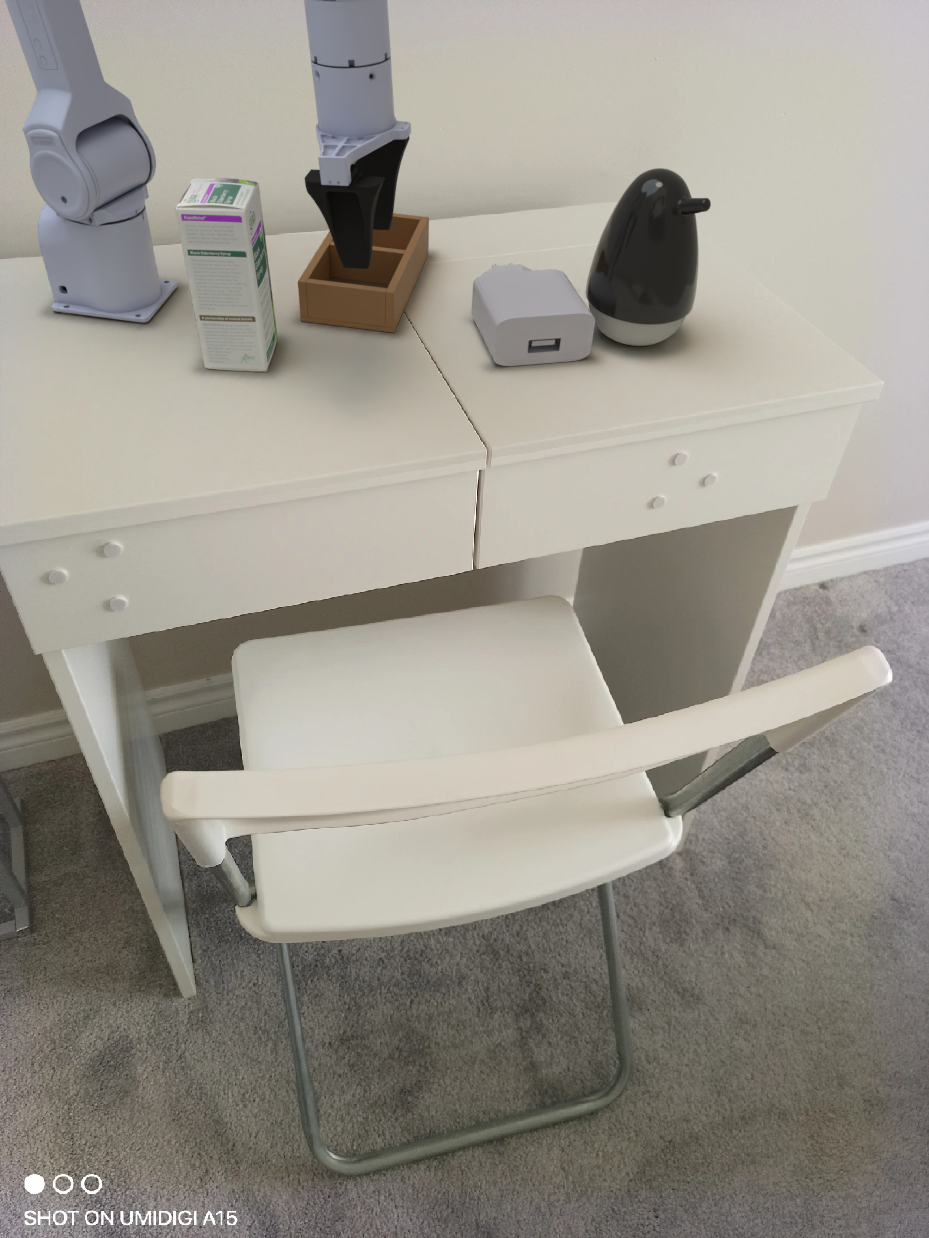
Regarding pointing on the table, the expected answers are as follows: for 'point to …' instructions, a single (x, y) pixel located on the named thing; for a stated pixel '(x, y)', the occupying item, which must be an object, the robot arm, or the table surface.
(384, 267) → the divided box
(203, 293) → the syrup box
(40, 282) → the table surface
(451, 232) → the table surface
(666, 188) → the pump dispenser
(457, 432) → the table surface
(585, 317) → the charger
